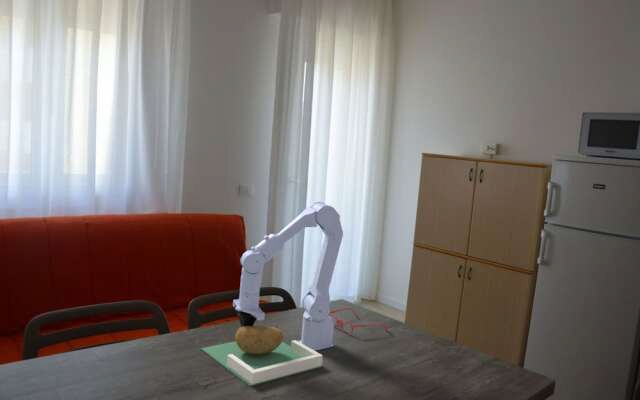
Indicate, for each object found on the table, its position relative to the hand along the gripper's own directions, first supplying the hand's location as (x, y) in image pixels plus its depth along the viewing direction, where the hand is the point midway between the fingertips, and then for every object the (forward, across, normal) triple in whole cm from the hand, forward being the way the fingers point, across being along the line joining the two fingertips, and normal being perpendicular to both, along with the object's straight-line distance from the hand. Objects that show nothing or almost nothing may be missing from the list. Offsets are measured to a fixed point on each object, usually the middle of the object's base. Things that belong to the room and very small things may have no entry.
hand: (246, 336), depth 157 cm
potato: (+3, +6, +1) cm, 7 cm away
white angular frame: (+3, +15, 0) cm, 15 cm away
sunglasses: (+4, +2, +43) cm, 43 cm away
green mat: (+3, +8, 0) cm, 9 cm away
